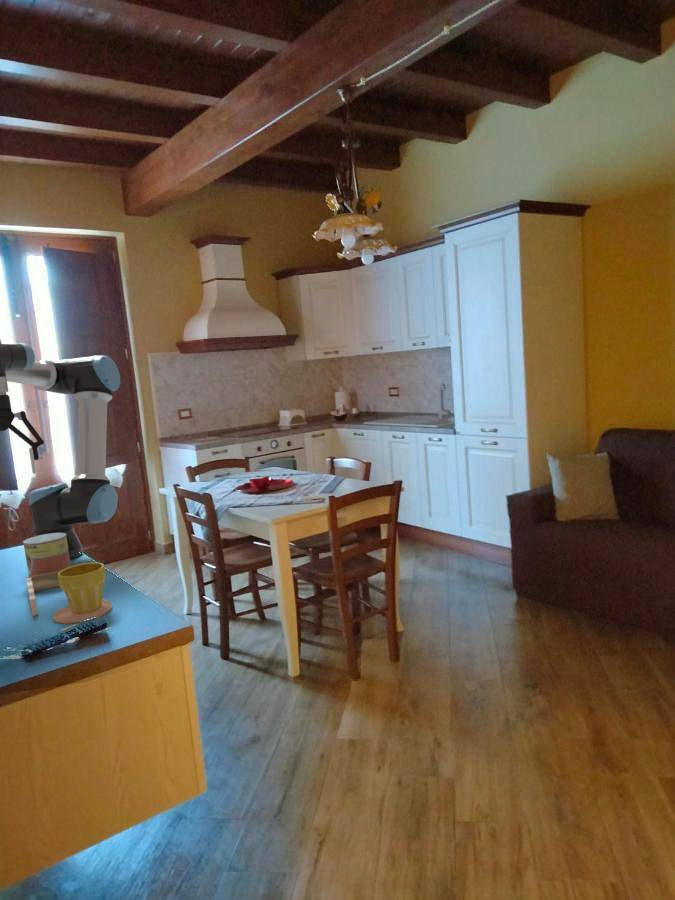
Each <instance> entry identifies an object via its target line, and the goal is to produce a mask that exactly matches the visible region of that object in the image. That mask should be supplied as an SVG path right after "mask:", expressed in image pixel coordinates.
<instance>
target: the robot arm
mask: <svg viewBox="0 0 675 900" xmlns="http://www.w3.org/2000/svg"><path fill="white" fill-rule="evenodd" d="M35 354H36V353H35V351H34V350H33V348H32V346H31V345H29V344H27V343H24V342H19V341H16V342H3V341H2V340H1V339H0V432H5V431H6V430H8V429H9V430H11V432H13V433H14V434H16V436H18V437H19V438H20V439H22V440H23V441H24V442H25V443H26V444H28V445H29V446H31V447H29V448H28V451H29V452H28V453H29V457H30V463H31V464H30V465H31V471H32V474H34V475H35V474H37V469H36V464H35V463H36V462H35V461H38V460H39V457H40V456H39V451H38V448H39V446H43V445H44V443H45V441H44V440H43V438H42V437H41V436H40V435H39V433H38V432H37V431H36V428H35V427H34V426H33V424H32V423H30V421H29V420H28V418H27V414H26V413H27V412H25V411H24V410H21V411H18V412H13V410H12V405H11V399H10V398H11V397H10V395H9V394H7V393H8V392H9V386H8V382H10V383H17V384H21V385H28V386H32V387H33V388H34V389H37V390H40V391H45V392H50V393H56V394H61V395H63V394H64V395H73V397H74V398H75V399H76V400H77V401H78V418H77V419H78V421H77V423H78V424H77V448H76V449H77V451H76V455H77V456H76V475H75V476H74V477H73V478H71V481H70V487H69V485H68V484H67V482H60V483H55V484H51V485H47V486H43V487H40V488H37V489H34V490H31V491H30V492H29V494H28V502H29V504H28V507H29V509H30V515H31V521H32V526H33V527H32V528H33V529H32V530H33V534H34V536H38V535H43V534H49V533H66V538H67V544H68V551H69V558H70V560H71V558H72V559H75V558H77V557H79V556H81V555H82V554H83V553H84V550H83V549H84V548H83V545H82V543H81V540H80V539H79V536H78V535H77V533H76V531H75V529H74V525H83V524H95V525H96V524H97V523H105V522H107V521H109V520H110V519H112V517H113V516H114V514H115V513H116V511H117V507H118V493H117V490H116V487H114V486H113V485H111V480H110V478H108V476H107V475H106V468H107V467H106V466H107V465H106V463H107V462H106V461H107V430H108V429H107V425H108V424H107V423H108V422H107V421H108V403H109V402H110V401H112V400H113V392H116V391H117V390H118V389H119V388H120V387H121V386H120V385H121V376H120V374H121V373H120V372H119V369H118V366H117V364H116V363H115V362H114V360H113V359H112V358H111V357H110V356H108V355H92V356H82V357H73V358H64V359H59V360H58V359H57V360H46V359H40V360H36V355H35ZM15 418H17V419H18V421H22V423H23V425H24V426H25V427H26V429H28V431H29V432H30V433H31V434H32V436H33V437H34V439H35V440H36V441H34V440H33V439H31V438H30V437H28V436H27V435H26V434H25V433H23V431H21V430H20V429H18V428H17V427H16V426H15V425H13V422H14V419H15ZM79 552H80V553H82V554H80V553H79ZM74 557H75V558H74Z"/></svg>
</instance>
